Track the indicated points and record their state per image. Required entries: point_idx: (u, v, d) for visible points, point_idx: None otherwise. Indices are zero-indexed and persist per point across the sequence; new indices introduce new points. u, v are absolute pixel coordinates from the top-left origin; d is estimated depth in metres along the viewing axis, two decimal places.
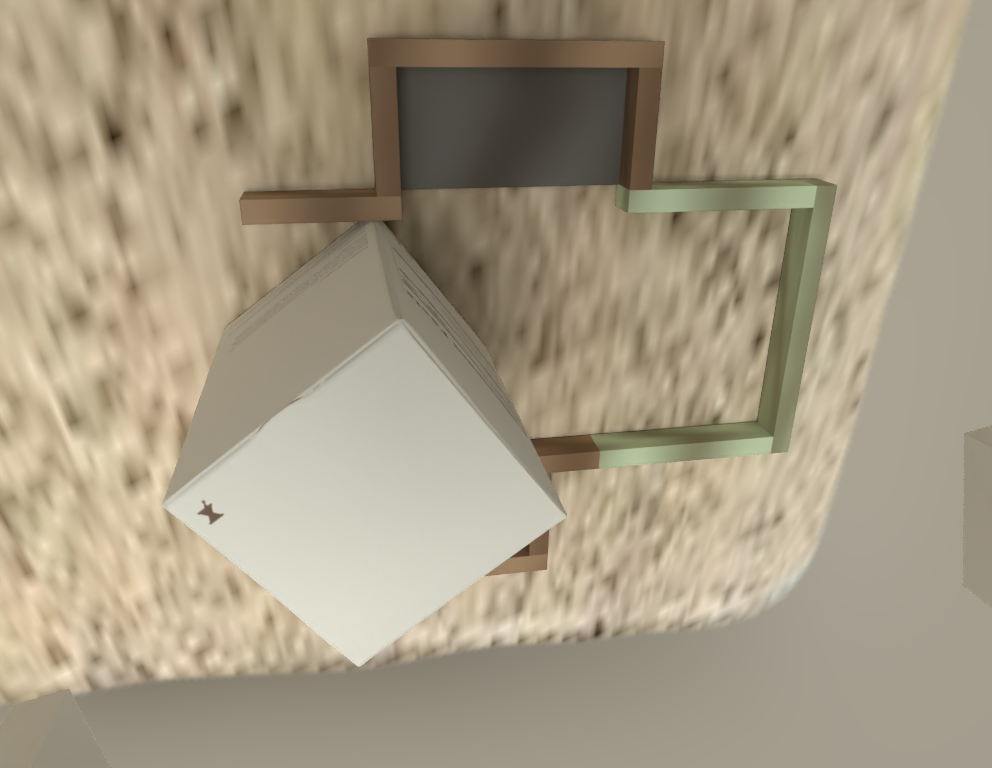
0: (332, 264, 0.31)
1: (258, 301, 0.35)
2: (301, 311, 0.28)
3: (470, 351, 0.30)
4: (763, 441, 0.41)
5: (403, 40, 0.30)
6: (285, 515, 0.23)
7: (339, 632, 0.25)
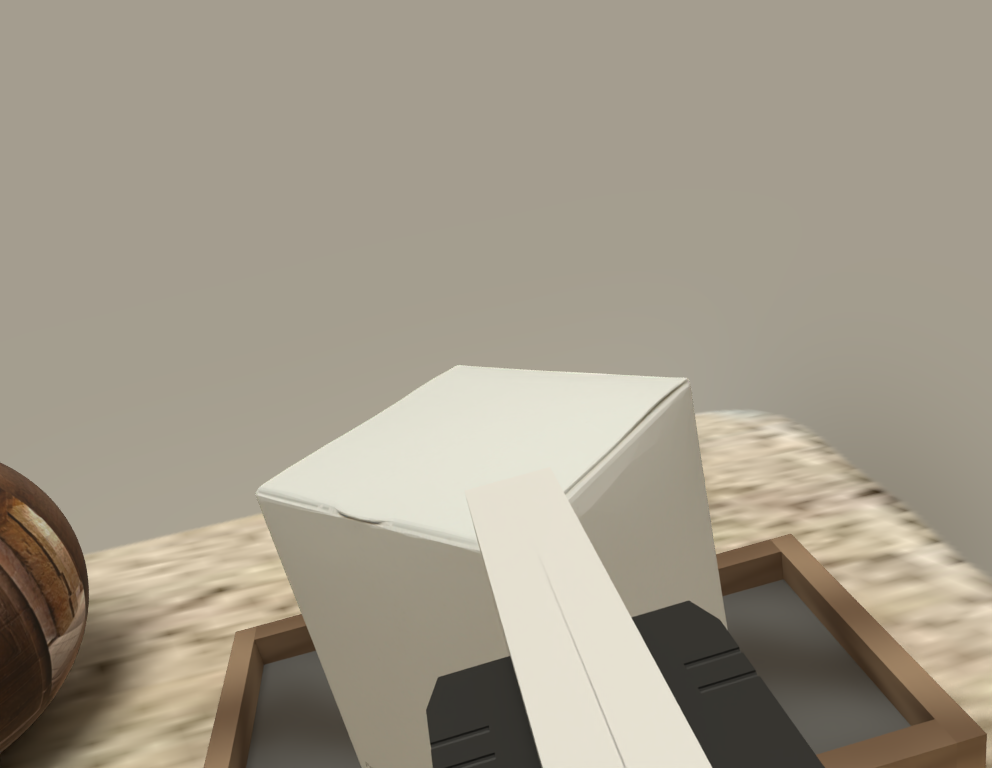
0: None
1: None
2: (417, 751, 0.21)
3: None
4: None
5: None
6: (488, 470, 0.19)
7: (640, 397, 0.20)
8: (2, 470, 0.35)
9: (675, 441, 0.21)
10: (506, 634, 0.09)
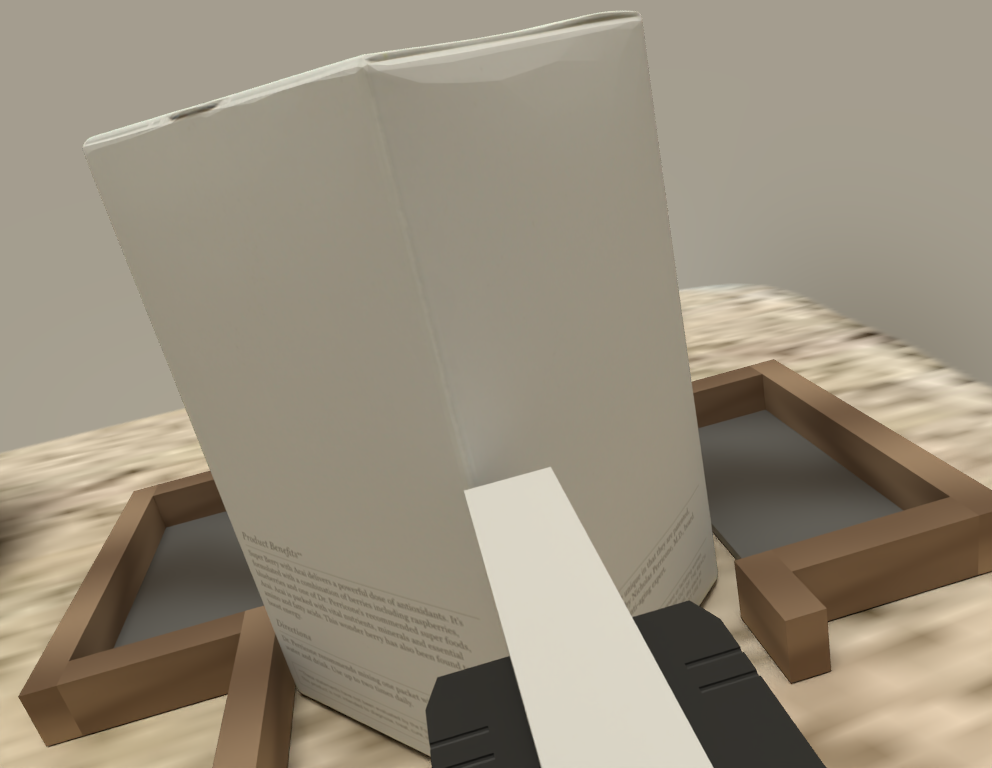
0: (297, 588, 0.18)
1: None
2: (293, 481, 0.16)
3: None
4: None
5: (38, 663, 0.22)
6: None
7: None
8: None
9: (622, 78, 0.16)
10: (505, 634, 0.09)
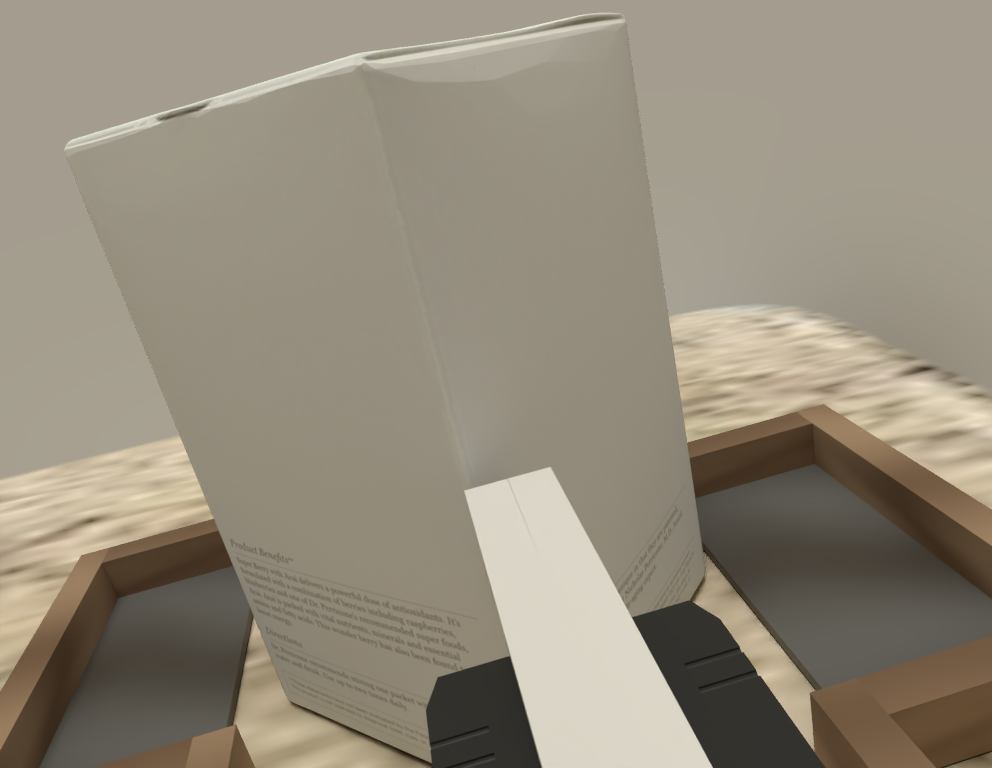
0: (287, 594, 0.18)
1: None
2: (284, 485, 0.16)
3: None
4: None
5: None
6: None
7: None
8: None
9: (608, 79, 0.16)
10: (506, 634, 0.09)
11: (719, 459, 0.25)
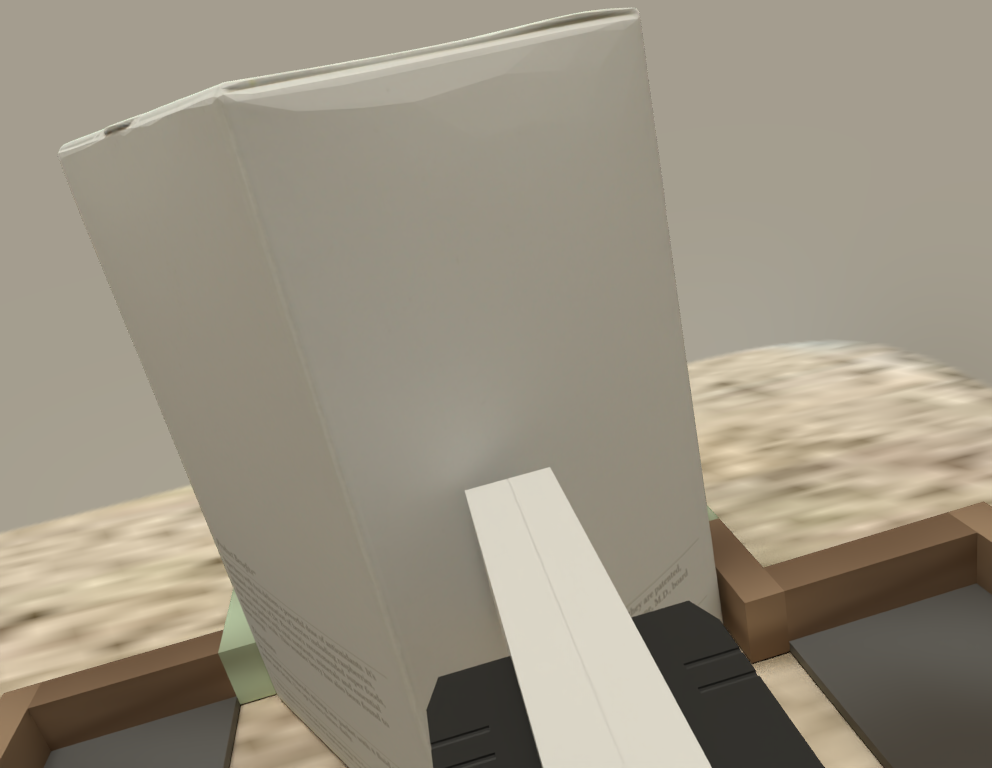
0: (258, 603, 0.18)
1: None
2: (237, 503, 0.16)
3: None
4: None
5: None
6: None
7: None
8: None
9: (603, 87, 0.14)
10: (507, 634, 0.09)
11: (854, 582, 0.19)
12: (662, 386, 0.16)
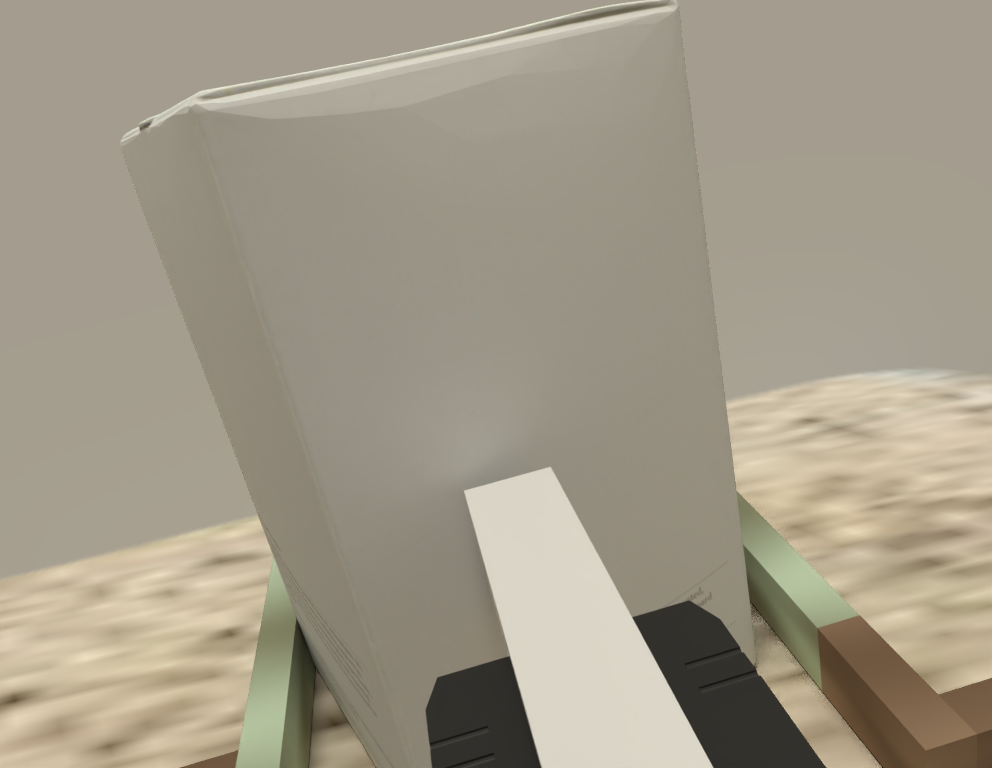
0: (288, 578, 0.19)
1: None
2: (261, 484, 0.17)
3: None
4: None
5: None
6: None
7: None
8: None
9: (629, 86, 0.13)
10: (506, 634, 0.09)
11: None
12: (688, 401, 0.16)
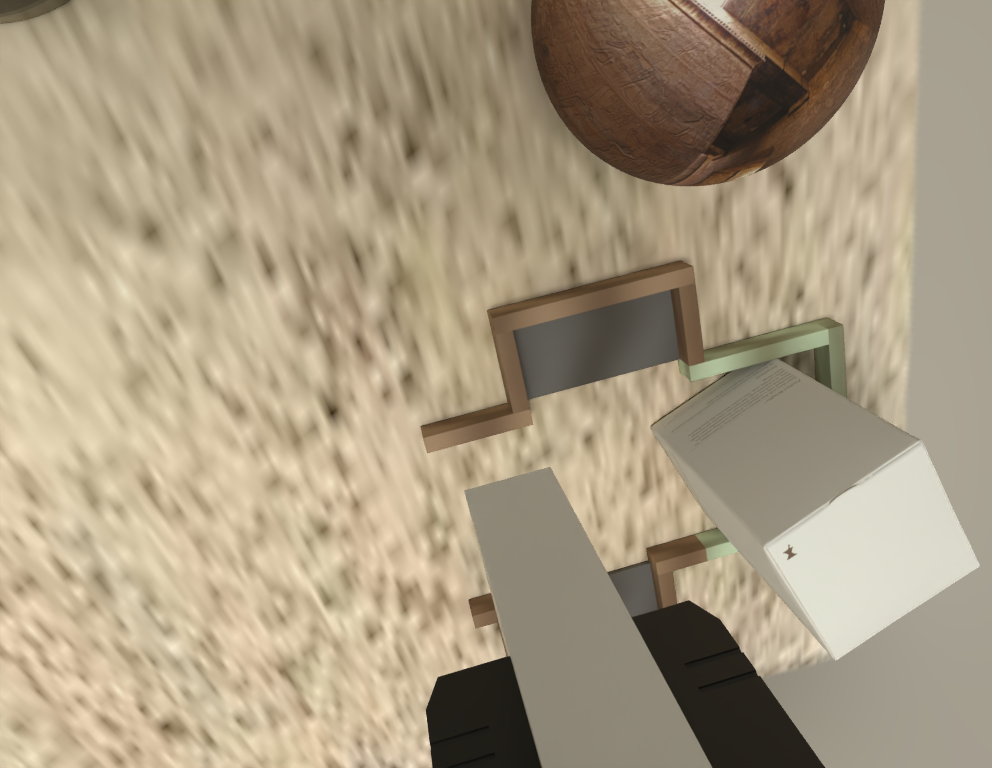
0: (765, 389, 0.46)
1: (679, 408, 0.50)
2: (772, 423, 0.43)
3: None
4: None
5: (514, 313, 0.44)
6: (829, 556, 0.37)
7: (834, 635, 0.39)
8: (809, 132, 0.33)
9: (809, 629, 0.40)
10: (506, 634, 0.09)
11: (659, 593, 0.53)
12: (754, 568, 0.46)
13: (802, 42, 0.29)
